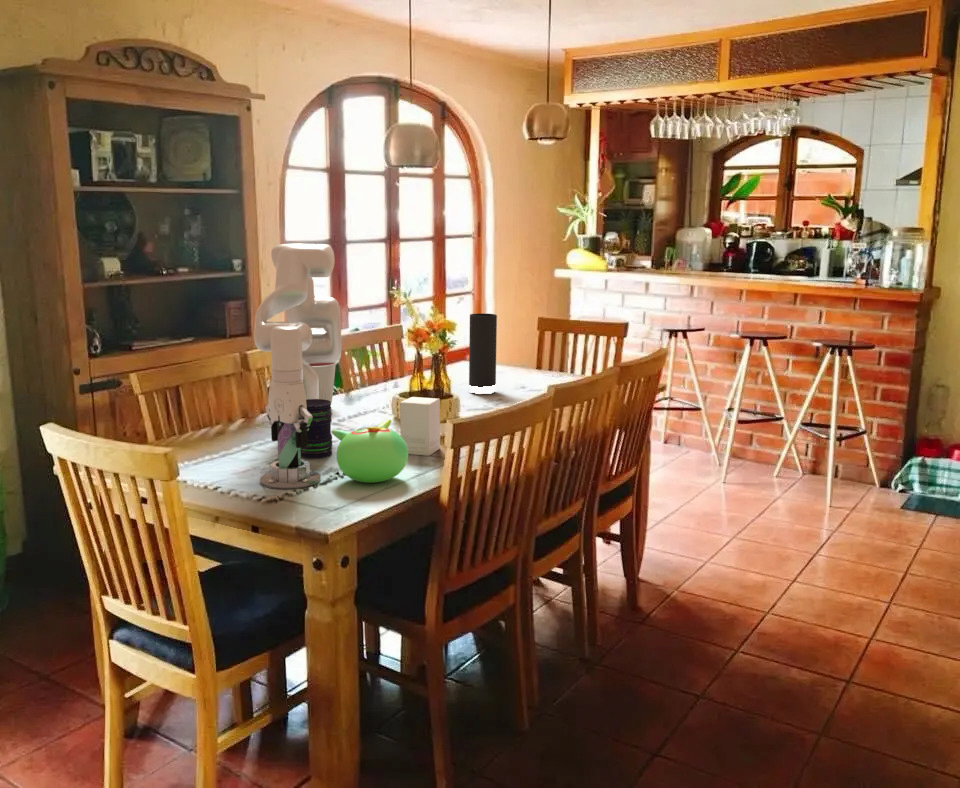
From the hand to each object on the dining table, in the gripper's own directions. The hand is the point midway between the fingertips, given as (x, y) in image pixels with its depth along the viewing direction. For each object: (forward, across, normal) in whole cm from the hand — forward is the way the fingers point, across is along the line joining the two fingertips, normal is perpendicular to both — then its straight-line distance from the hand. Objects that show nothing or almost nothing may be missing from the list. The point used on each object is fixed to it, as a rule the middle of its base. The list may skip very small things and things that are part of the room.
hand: (289, 443), depth 219 cm
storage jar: (+10, -15, +20) cm, 27 cm away
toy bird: (+10, +15, +14) cm, 23 cm away
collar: (+10, 0, 0) cm, 10 cm away
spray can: (+9, 0, 0) cm, 9 cm away
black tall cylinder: (+10, -39, +122) cm, 129 cm away
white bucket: (+10, -63, +58) cm, 86 cm away
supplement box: (+10, +4, +43) cm, 44 cm away
